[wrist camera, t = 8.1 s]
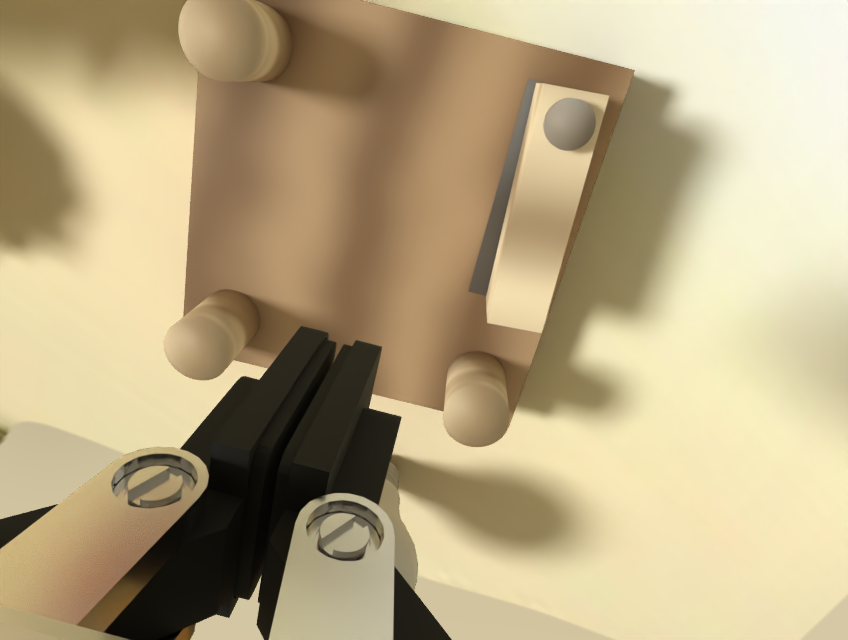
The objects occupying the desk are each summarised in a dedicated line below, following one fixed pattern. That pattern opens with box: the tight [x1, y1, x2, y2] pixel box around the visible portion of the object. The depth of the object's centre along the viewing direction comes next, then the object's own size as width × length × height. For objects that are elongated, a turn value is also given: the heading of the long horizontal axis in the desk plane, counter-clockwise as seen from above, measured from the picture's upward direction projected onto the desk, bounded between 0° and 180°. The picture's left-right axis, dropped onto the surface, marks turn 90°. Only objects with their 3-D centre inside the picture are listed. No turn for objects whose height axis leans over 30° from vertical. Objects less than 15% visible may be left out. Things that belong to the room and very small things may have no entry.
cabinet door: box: [486, 83, 609, 333], centre depth 23 cm, size 10×2×4 cm, turn 170°
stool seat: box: [164, 0, 635, 447], centre depth 26 cm, size 18×18×6 cm
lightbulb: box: [379, 462, 418, 590], centre depth 30 cm, size 6×6×11 cm
